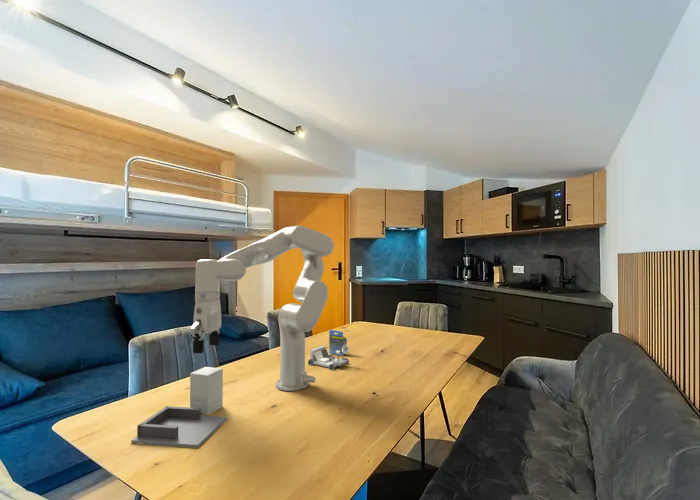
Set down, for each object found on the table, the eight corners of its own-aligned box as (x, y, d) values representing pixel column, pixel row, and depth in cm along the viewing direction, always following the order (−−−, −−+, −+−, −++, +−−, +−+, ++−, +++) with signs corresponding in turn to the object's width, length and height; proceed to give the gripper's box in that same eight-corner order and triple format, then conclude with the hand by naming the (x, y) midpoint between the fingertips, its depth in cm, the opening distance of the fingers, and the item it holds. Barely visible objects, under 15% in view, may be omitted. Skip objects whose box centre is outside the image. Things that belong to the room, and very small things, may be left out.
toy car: (353, 344, 160) (338, 350, 151) (353, 365, 160) (338, 372, 150) (323, 339, 170) (307, 344, 161) (323, 359, 170) (307, 365, 161)
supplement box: (223, 406, 116) (223, 368, 116) (207, 415, 109) (208, 375, 109) (205, 403, 118) (206, 365, 118) (188, 412, 111) (189, 372, 111)
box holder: (226, 419, 106) (227, 407, 106) (197, 448, 90) (198, 433, 90) (169, 415, 108) (169, 403, 108) (131, 443, 92) (131, 428, 93)
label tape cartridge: (347, 354, 177) (347, 330, 177) (343, 356, 174) (343, 331, 174) (333, 351, 182) (333, 328, 182) (328, 353, 179) (328, 329, 179)
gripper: (204, 300, 105) (203, 356, 104) (230, 294, 122) (229, 343, 122) (181, 299, 106) (179, 355, 105) (210, 293, 123) (209, 342, 123)
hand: (206, 348), depth 113 cm, fingers open, 9 cm apart
